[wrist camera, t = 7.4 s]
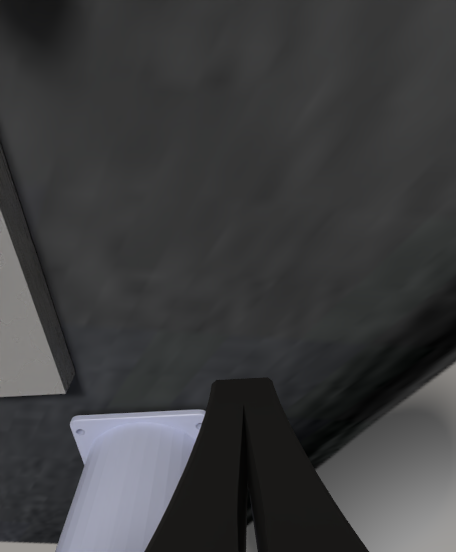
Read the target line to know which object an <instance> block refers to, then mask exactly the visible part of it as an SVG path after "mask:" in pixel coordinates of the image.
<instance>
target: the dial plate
mask: <svg viewBox="0 0 456 552" xmlns="http://www.w3.org/2000/svg"><path fill="white" fill-rule="evenodd" d="M74 375H75V370H74V367H73V364H72V361H71V358H70V355H69V352H68V348H67V345H66V342H65V339H64V336H63V333H62V330H61V327H60V324H59V321H58V318H57V315H56V312H55V309H54V306H53V303H52V300H51V297H50V294H49V290H48V287H47V284H46V281H45V278H44V275H43V272H42V269H41V266H40V263H39V260H38V257H37V254H36V251H35V248H34V245H33V242H32V239H31V236H30V232H29V229H28V226H27V223H26V220H25V217H24V214H23V211H22V208H21V205H20V202H19V199H18V196H17V193H16V190H15V187H14V184H13V181H12V177H11V174H10V171H9V168H8V165H7V162H6V159H5V156H4V153H3V150H2V147H1V144H0V397H9V396H29V395H48V394H66V392H67V390H68V388H69V386H70V384H71V382H72V379H73V377H74Z"/></svg>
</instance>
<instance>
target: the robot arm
mask: <svg viewBox="0 0 456 552" xmlns="http://www.w3.org/2000/svg"><path fill="white" fill-rule="evenodd" d="M198 423H202V424H198ZM70 427H71V430H72V433H73V435H74V438H75V441H76V443H77V446H78V449H79V452H80V454H81V457H82V460H83V462H84V465H85V466H84V469H83V472H82V475H81V478H80V481H79V484H78V487H77V489H76V492H75V495H74V498H73V501H72V504H71V507H70V510H69V513H68V516H67V519H66V522H65V525H64V528H63V531H62V533H61V536H60V539H59V542H58V545H57V548H56V551H55V552H246V526H247V485H248V487H249V494H250V501H251V508H252V515H253V522H254V528H255V535H256V542H257V549H258V552H369V551H368V550H367V548H366V547H365V545H364V544H363V542H362V541H361V540H360V538H359V537H358V535H357V534H356V533H355V531H354V530H353V528H352V527H351V525H350V524H349V523H348V521H347V520H346V518H345V517H344V515H343V514H342V512H341V511H340V509H339V508H338V506H337V505H336V503H335V502H334V500H333V498H332V497H331V495H330V494H329V492H328V490H327V489H326V487H325V486H324V484H323V483H322V481H321V479H320V478H319V476H318V474H317V473H316V471H315V469H314V467H313V466H312V464H311V462H310V460H309V459H308V457H307V455H306V453H305V451H304V450H303V448H302V446H301V444H300V442H299V441H298V439H297V437H296V435H295V433H294V431H293V429H292V427H291V425H290V423H289V421H288V419H287V417H286V415H285V413H284V410H283V408H282V406H281V404H280V401H279V399H278V396H277V394H276V391H275V388H274V385H273V382H272V380H270V379H269V378H249V379H229V380H216V381H215V382H214V383H213V384H212V387H211V393H210V397H209V402H208V405H207V409H206V411H204V410H200V409H197V410H177V411H157V412H137V413H118V414H98V415H79V416H75V417H73V418H72V420H71V423H70Z"/></svg>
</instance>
